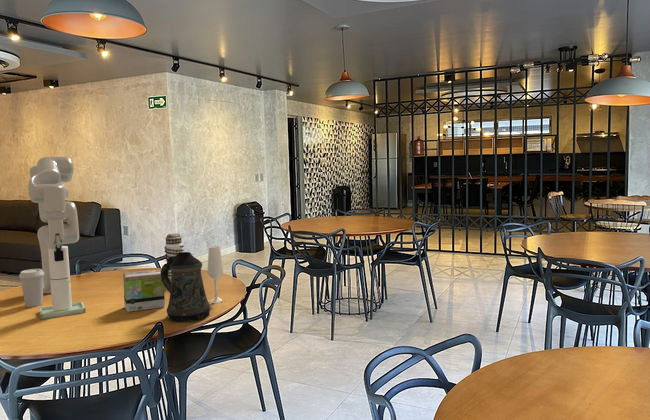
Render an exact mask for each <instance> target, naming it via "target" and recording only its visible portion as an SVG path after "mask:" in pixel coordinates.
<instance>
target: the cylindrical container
mask: <svg viewBox="0 0 650 420" xmlns="http://www.w3.org/2000/svg"><path fill="white" fill-rule="evenodd" d="M54 251H55V249H54V247H50V248H48V257H49V270H50V283H51V293H50V294H51V295H50V296H51V306H52V309H53V310H66V309H69V308H71V307H72V303H73V301H72V298H73V297H72V288H71V287H72V286H71V272H70V271H71V270H70V260H69V259H70V258H69V247H68V245H62V251H63V256H64V260H63V261H55V259H54Z"/></svg>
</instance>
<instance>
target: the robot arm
mask: <svg viewBox="0 0 650 420" xmlns="http://www.w3.org/2000/svg"><path fill="white" fill-rule="evenodd" d="M74 170H75V169H74V163H73V161H72V159H71V158H70V157H68V156H44V157H42V158H39V159H38V160H37V163H36V165H34V166H32V167H31V168H29V178H30V179H29V180H28V183H27V192H28V193H27V194H28V198H29V200H30V201H31V202H32V203H35V204H36V203H37V204H38V212H39V219H40V220H41V222H43V223H47V224H48V225H46V224H45V225H43V226H41V227H39V229H38V230H37V240H38V243H39V249H40V255H41V256H40V257H41V269H42V271H43V272H44V275H43V294H51V283H50V270H49V257H48V248H50V247H54V249H55V251H54V259H55V261H63V260H64V256H63V251H62V246H63V245H67V244H68V245H69V244H75V243H77V242H78V241H79V240H80V229H79V227H80V226H79V217H78V209H77V206H76V204H75V202H74V201H73V202H72V201H68V200H67V199H68V197H69V189H68V187H67V186H66V184H64V183H69V182H71V181H72V179H73V175H74ZM66 200H67V201H66ZM64 222H66V223H64Z"/></svg>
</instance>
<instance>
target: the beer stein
mask: <svg viewBox="0 0 650 420" xmlns="http://www.w3.org/2000/svg"><path fill="white" fill-rule="evenodd" d="M202 269H203V263H202V261H201V260H200V259H198V258H196V257H194V255H192V253H191V252H189V251H183V252H180V253H178V254H177V255H176V256H171V257H169V258H168V260H167V262H166V263H164V264H163V265H162V266H161V269H160V270H161V279H162V282H163V284H164V289H165V288H166V290H167V292H168V293H169V300H168V304H167V308H166V314H167V316H168V317H167V318H168V320H169V321H170V320H171V322H173V321H174V323H192V322H193V323H194V322H198V321H201V320H205V319H206V318H208V317H210V314H211V313H210V309H211V303H209V301H208V300H209V299H208V297H207V294H206V290H205V286H204V281H203V275H202ZM169 270H171V272H172V278H171V281H170V279H169V276H168V271H169Z"/></svg>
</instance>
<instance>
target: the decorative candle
mask: <svg viewBox="0 0 650 420" xmlns="http://www.w3.org/2000/svg"><path fill="white" fill-rule="evenodd" d="M182 238H183V236H181V234H179V233H168V234H167V235H166V237H165V245H164V253H165V254H164V257H165V262H166V263H167V260H168V258H169V257H171V256H176V255H177V254H178V253H180V252H185V251H184V249H183V248H184V245H183V242H182ZM168 276H169V279H170V281H171V278H172V272H171V270H169V271H168Z"/></svg>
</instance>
